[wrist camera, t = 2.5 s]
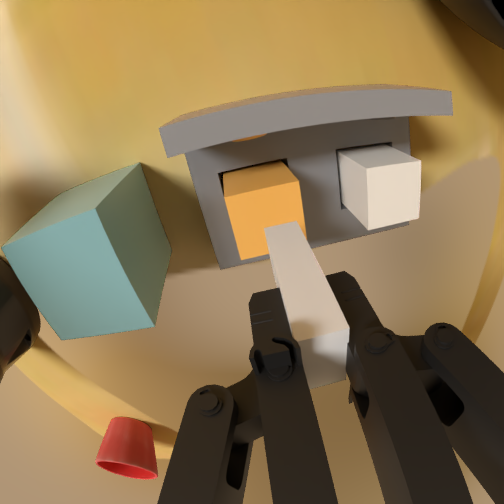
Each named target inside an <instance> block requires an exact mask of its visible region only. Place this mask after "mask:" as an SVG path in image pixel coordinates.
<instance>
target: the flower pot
mask: <svg viewBox="0 0 504 504" xmlns="http://www.w3.org/2000/svg"><path fill="white" fill-rule="evenodd" d="M96 464H97V465H98V466H99V467H101V468H103V469H105V470H107V471H110V472H112V473H115V474H118V475H122V476H126V477H130V478H136V479H154V478H157V477H158V471H157V463H156V456H155V449H154V442H153V436H152V429H151V428H150V427H149V426H148V425H147V424H146V423H144V422H142V421H139V420H136V419H133V418H128V417H115V418H114V419H112V420H111V422H110V424H109V426H108V429H107V431H106V433H105V436H104V438H103V441H102V444H101V446H100V449H99V452H98V455H97V458H96Z"/></svg>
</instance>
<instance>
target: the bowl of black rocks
mask: <svg viewBox="0 0 504 504" xmlns="http://www.w3.org/2000/svg"><path fill="white" fill-rule="evenodd" d="M440 1H441V2H442V3H443V4H444V5H445V6H446V7H447V8H448V9H449V10H450V11H451V12H452V13H454V14H455V15H456V16H457V17H458V18H459V19H461V20H462V21H463V22H464V23H466V24H467V25H468V26H469V27H471V28H472V29H473V30H475V31H476V32H477V33H479V34H480V35H482V36H483V37H485V38H486V39H488V40H489V41H491V42H492V43H494V44H496V45H497V46H499V47H501V48H503V49H504V0H440Z"/></svg>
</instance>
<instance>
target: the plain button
mask: <svg viewBox="0 0 504 504" xmlns="http://www.w3.org/2000/svg"><path fill="white" fill-rule="evenodd" d="M336 158H337V167H338V178H339V189H340V201H341V202H342V203H343V204H344V205H345V206H346V207H347V209H348V210H349V211H350V212H351V213H352V214H353V215H354V216H355V217H356V218H357V219H358V220H359V221H360V222H361V223H362V224H363V225H364V226H365V228H366V229H367V230H372V229H376V228H381V227H385V226H389V225H393V224H397V223H402V222H406V221H410V220H414V219H418V218H419V209H420V190H421V160H419V159H416V158H414V157H412V156H410V155H408V154H406V153H404V152H401V151H399V150H397V149H395V148H392V147H390V146H388V145H385V144H378V145H370V146H362V147H355V148H348V149H341V150H336Z"/></svg>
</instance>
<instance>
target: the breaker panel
mask: <svg viewBox="0 0 504 504" xmlns="http://www.w3.org/2000/svg"><path fill="white" fill-rule="evenodd" d="M431 115H452V116H453V106H452V93H451V91H446V90H439V89H432V88H423V87H414V86H403V85H388V84H376V85H352V86H337V87H325V88H316V89H307V90H299V91H292V92H285V93H278V94H272V95H266V96H261V97H255V98H250V99H245V100H240V101H236V102H231V103H227V104H222V105H218V106H214V107H210V108H206V109H202V110H199V111H195V112H191V113H188V114H184V115H181V116H179V117H177V118H176V119H174V120H172V121H170V122H168V123H167V124H165V125H163V126H162V127H160V128H159V131H160V135H161V138H162V141H163V145H164V148H165V151H166V155H167V158H169V157H173V156H176V155H179V154H183V153H185V156H186V160H187V163H188V167H189V170H190V174H191V177H192V180H193V184H194V187H195V190H196V194H197V197H198V200H199V204H200V207H201V210H202V213H203V217H204V220H205V223H206V226H207V230H208V233H209V236H210V239H211V242H212V245H213V248H214V251H215V255H216V258H217V261H218V264H219V267H220V270H221V269H225V268H230V267H234V266H239V265H243V264H247V263H252V262H256V261H260V260H264V259H269V258H270V255H269V254H266V255H262V256H257V257H253V258H249V259H244V260H241V258H240V255H239V251H238V247H237V243H236V240H235V236H234V232H233V229H232V225H231V221H230V218H229V214H228V210H227V206H226V203H225V199H224V184H223V180H222V177H221V173H220V172H224V171H228V170H232V169H236V168H241V167H245V166H249V165H254V164H259V163H263V162H268V161H273V160H278V159H280V160H281V161H282V162H283V163H284V164H285V165H286V166H287V168H288V169H289V170H290V171H291V172H292V173H293V175H294V176H295V177H296V178H297V179H298V181H299V185H300V192H301V199H302V206H303V213H304V221H305V229H306V237H307V242H308V244H309V245H310V247H311V248H316V247H320V246H324V245H328V244H332V243H337V242H341V241H345V240H349V239H353V238H357V237H361V236H365V235H370V234H374V233H378V232H381V231H386V230H390V229H394V228H398V227H402V226H406V225H409V221H406V222H402V223H397V224H393V225H389V226H385V227H381V228H376V229H372V230H367V229H366V228H365V226H364V225H363V224H362V223H361V222H360V221H359V220H358V219H357V218H356V217H355V216H354V215H353V214H352V213H351V212H350V211H349V210H348V209H347V207H346V206H345V205H344V204H343V203H342V202H341V201H340V190H339V179H338V168H337V159H336V150H335V149H340V148H347V147H354V146H361V145H369V144H374V145H378V144H385V145H388V146H390V147H392V148H395V149H397V150H399V151H401V152H404V153H406V154H408V155H410V156H411V154H410V129H409V116H431Z"/></svg>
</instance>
